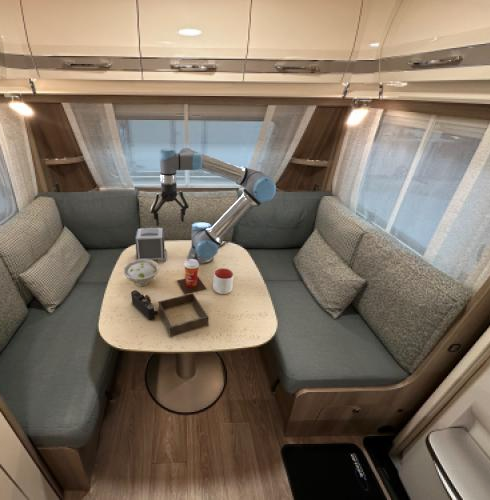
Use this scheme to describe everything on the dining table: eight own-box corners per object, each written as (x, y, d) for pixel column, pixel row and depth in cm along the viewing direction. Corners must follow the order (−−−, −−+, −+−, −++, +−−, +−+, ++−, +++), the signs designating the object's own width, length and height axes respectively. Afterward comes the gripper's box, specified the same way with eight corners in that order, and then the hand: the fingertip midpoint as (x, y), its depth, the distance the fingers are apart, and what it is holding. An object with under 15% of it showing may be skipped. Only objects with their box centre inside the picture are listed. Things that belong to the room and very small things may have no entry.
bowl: (167, 279, 148) (166, 264, 143) (143, 298, 134) (142, 282, 129) (141, 268, 157) (139, 253, 152) (116, 284, 143) (114, 269, 138)
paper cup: (181, 284, 144) (180, 262, 136) (191, 278, 148) (191, 256, 141) (191, 290, 139) (191, 268, 132) (201, 284, 143) (202, 262, 136)
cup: (218, 281, 147) (219, 266, 142) (234, 287, 142) (236, 271, 137) (209, 291, 139) (210, 275, 134) (227, 297, 135) (228, 281, 130)
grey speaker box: (165, 250, 175) (164, 225, 166) (165, 261, 164) (164, 234, 155) (137, 251, 174) (135, 225, 165) (135, 262, 163) (132, 235, 154)
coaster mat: (197, 276, 151) (197, 275, 150) (206, 288, 141) (206, 288, 141) (177, 281, 147) (177, 280, 146) (184, 294, 137) (184, 293, 137)
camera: (161, 315, 124) (160, 301, 120) (149, 322, 120) (148, 308, 116) (141, 297, 134) (140, 284, 130) (130, 303, 130) (128, 290, 126)
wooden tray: (192, 300, 133) (192, 292, 130) (207, 325, 118) (208, 317, 116) (158, 309, 127) (158, 301, 124) (170, 336, 113) (169, 328, 110)
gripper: (189, 178, 136) (189, 217, 146) (141, 183, 128) (144, 223, 138) (195, 182, 130) (194, 222, 140) (145, 187, 122) (148, 229, 132)
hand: (169, 223), depth 139 cm, fingers open, 13 cm apart
